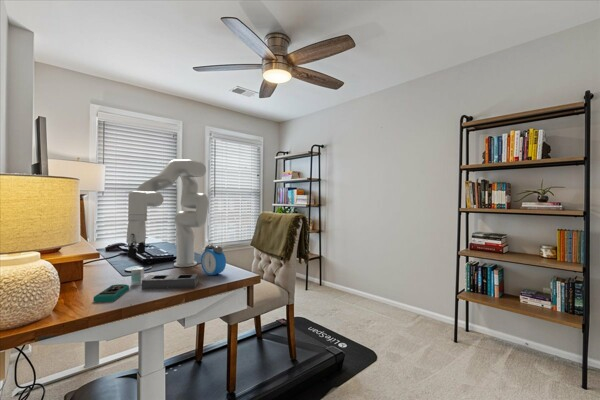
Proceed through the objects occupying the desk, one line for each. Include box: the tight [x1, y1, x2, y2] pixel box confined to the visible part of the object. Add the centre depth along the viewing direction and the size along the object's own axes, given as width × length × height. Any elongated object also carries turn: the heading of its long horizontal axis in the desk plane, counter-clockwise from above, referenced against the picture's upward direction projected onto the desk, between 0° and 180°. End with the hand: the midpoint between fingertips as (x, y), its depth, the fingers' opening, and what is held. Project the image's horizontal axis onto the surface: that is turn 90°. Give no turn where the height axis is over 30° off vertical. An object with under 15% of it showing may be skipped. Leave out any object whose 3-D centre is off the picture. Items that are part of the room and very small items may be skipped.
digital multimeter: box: [92, 283, 130, 303], centre depth 117 cm, size 7×15×3 cm, turn 9°
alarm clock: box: [200, 244, 227, 277], centre depth 149 cm, size 13×6×15 cm, turn 56°
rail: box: [141, 273, 199, 290], centre depth 130 cm, size 8×22×4 cm, turn 98°
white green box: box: [130, 266, 145, 286], centre depth 133 cm, size 4×4×7 cm
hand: (136, 255), depth 132 cm, fingers open, 9 cm apart
